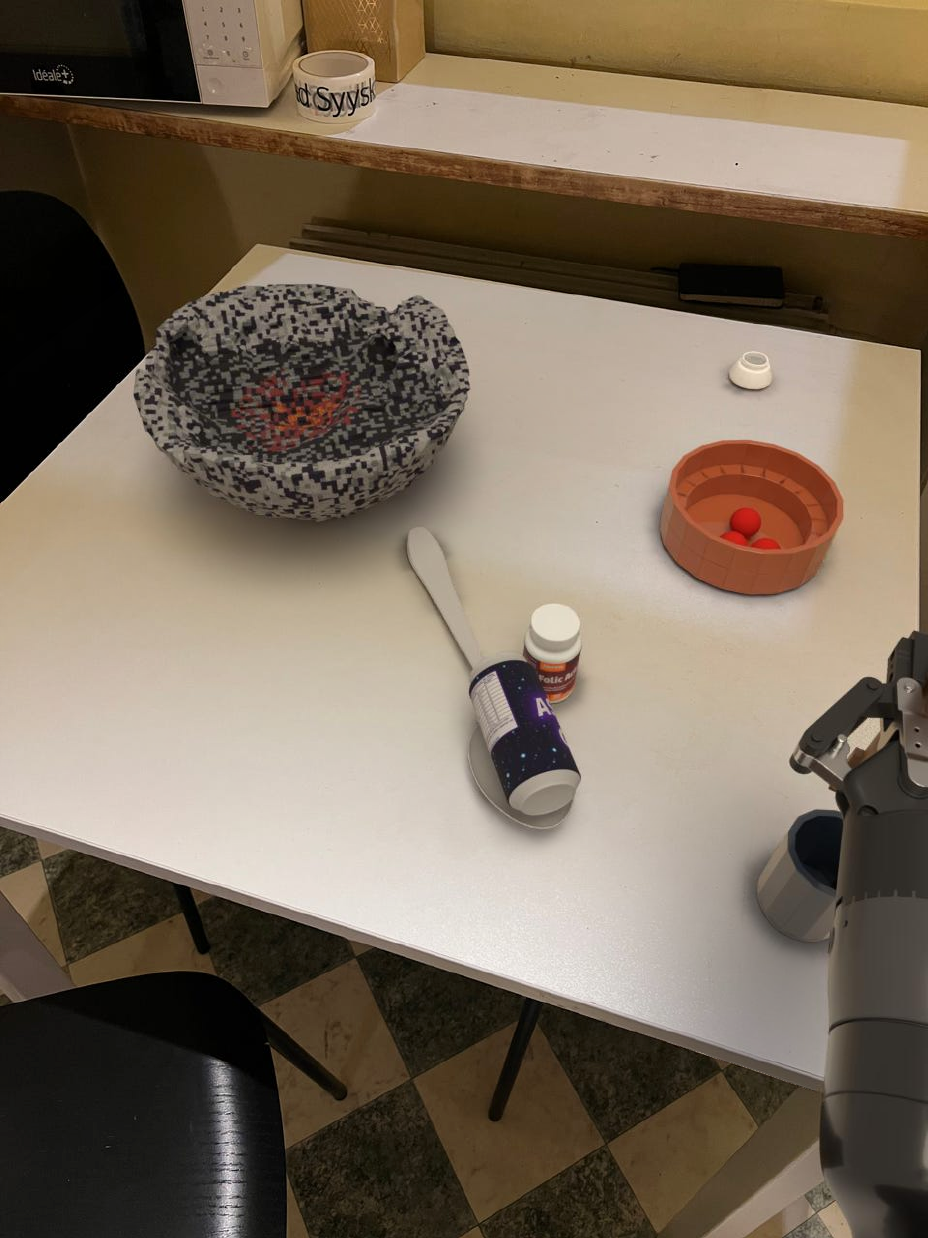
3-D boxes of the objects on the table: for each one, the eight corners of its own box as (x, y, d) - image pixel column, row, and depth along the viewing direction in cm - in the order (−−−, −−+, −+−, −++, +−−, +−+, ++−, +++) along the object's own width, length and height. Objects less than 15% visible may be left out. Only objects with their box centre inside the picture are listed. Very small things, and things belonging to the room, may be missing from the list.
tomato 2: (774, 561, 85) (785, 536, 83) (775, 578, 82) (786, 553, 81) (744, 553, 85) (754, 528, 83) (743, 570, 83) (754, 545, 81)
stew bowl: (824, 500, 91) (843, 455, 86) (822, 613, 81) (843, 569, 76) (669, 472, 93) (680, 427, 89) (648, 578, 83) (659, 533, 79)
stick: (879, 793, 56) (1038, 610, 39) (871, 819, 55) (1031, 642, 38) (832, 773, 57) (969, 586, 40) (824, 798, 56) (960, 617, 39)
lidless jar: (753, 397, 102) (778, 380, 104) (759, 375, 100) (785, 359, 102) (719, 378, 105) (745, 363, 107) (725, 356, 102) (751, 341, 105)
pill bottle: (536, 713, 73) (543, 652, 67) (511, 672, 76) (515, 610, 70) (584, 693, 75) (596, 632, 68) (558, 654, 77) (566, 592, 71)
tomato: (756, 554, 82) (726, 566, 82) (747, 555, 85) (719, 567, 85) (744, 525, 82) (714, 537, 82) (736, 527, 85) (707, 539, 85)
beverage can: (573, 768, 59) (518, 638, 67) (499, 803, 60) (453, 670, 68) (594, 797, 64) (540, 672, 71) (525, 829, 64) (479, 701, 72)
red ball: (746, 541, 87) (771, 526, 85) (734, 545, 85) (759, 529, 83) (731, 515, 88) (756, 500, 86) (718, 519, 86) (744, 503, 84)
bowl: (173, 608, 81) (125, 486, 69) (175, 409, 101) (138, 289, 89) (497, 559, 85) (503, 436, 74) (438, 377, 105) (435, 258, 93)
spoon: (597, 827, 66) (601, 810, 64) (500, 858, 65) (502, 840, 63) (453, 538, 89) (453, 518, 87) (379, 554, 87) (377, 534, 85)
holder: (844, 871, 64) (884, 821, 58) (844, 954, 60) (887, 910, 54) (759, 849, 65) (789, 798, 59) (753, 930, 61) (785, 884, 55)
